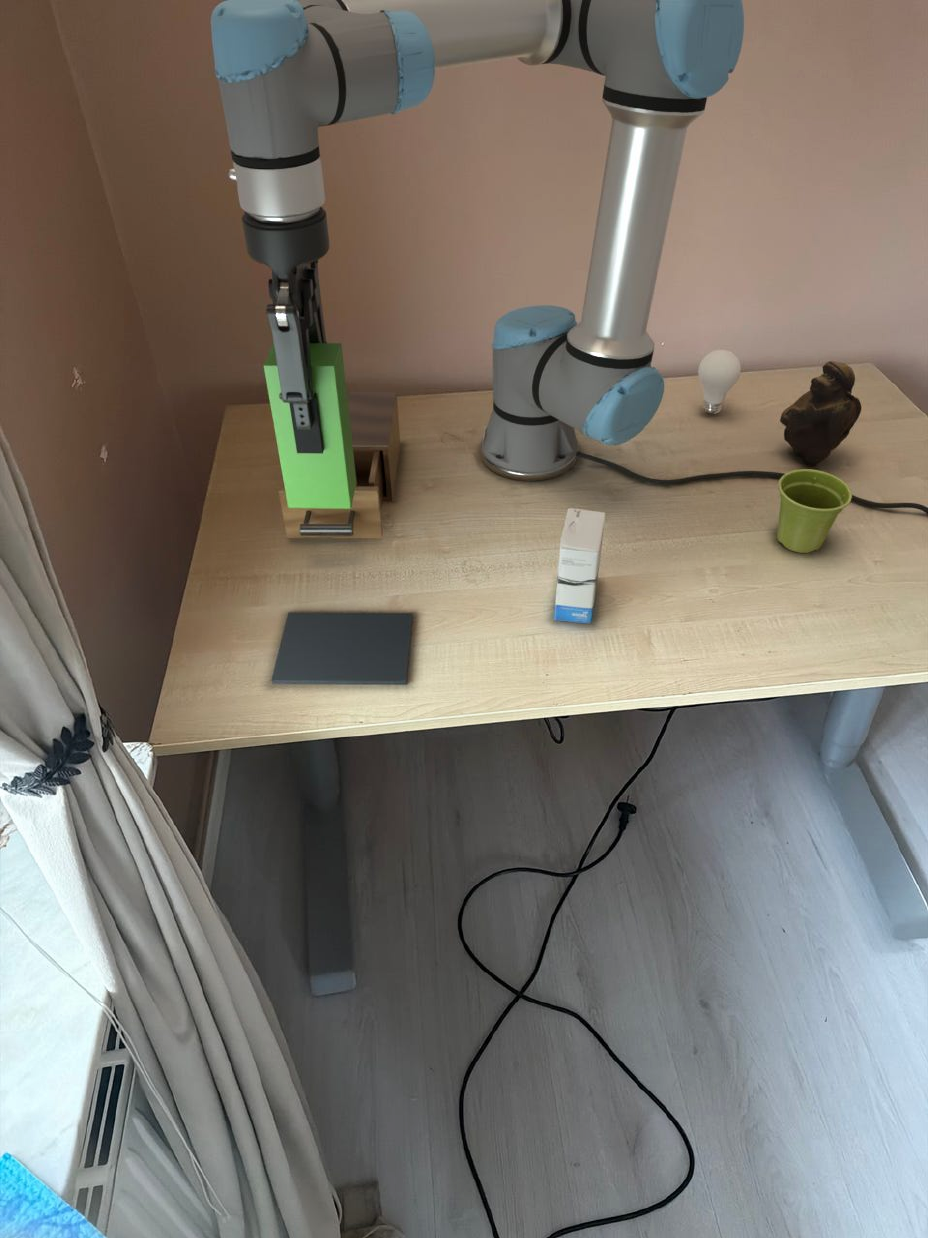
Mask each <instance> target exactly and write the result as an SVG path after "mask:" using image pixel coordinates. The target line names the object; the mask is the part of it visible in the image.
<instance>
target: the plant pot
mask: <svg viewBox="0 0 928 1238" xmlns="http://www.w3.org/2000/svg"><path fill="white" fill-rule="evenodd" d="M777 486H778V491H779V497H780V505H779V512H778V513H779V514H778V521H777V530H776V539H777V541H778V542H780V543H781V544H782V545H783V546H784V547H785V548H786V549H787V550H789V551H792V552H796V553H801V554H808V553H812V552H813V551H818V550H819V549H820V548H821V547H822V545H823V544H824V542H825V540H826V538H827V536H828V534H829V532H830V531H831V529H832V526H833V525H834V523H835V521H836V519H837V518H838V516H839V514H840V513H841V512H842V511H843V510H844V508H846V507H847V506H848V505H849V504H850V503H851V501H852V500H851V499H852V495H853V493H852V489H851V488H850V487H849V485H848V484H847V483H846V482H845V481H843V480H842V479H841V478H840V477H838V476H836V475H833V474H832V473H828V472H826V471H823V470H818V469H810V468H804V469H803V468H801V469H795V470H790V471H789V472H786V473H784V475H783V476H782V477H781V478H779V480H778V485H777Z"/></svg>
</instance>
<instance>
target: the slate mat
mask: <svg viewBox="0 0 928 1238" xmlns="http://www.w3.org/2000/svg"><path fill="white" fill-rule="evenodd" d="M413 621H414V613H413V612H314V611H313V612H311V611H310V612H306V611H305V612H299V611H298V612H294V611H292V612H289V611H288V612H287V616H286V619H285V624H284V628H283V632H282V636H281V639H280V643H279V648H278V651H277V656H276V660H275V664H274V668H273V672H272V676H271V680H270V681H271V684H273V685H274V684H275V685H276V684H278V685H279V684H280V685H281V684H282V685H402V686H403V685H406V686H407V683H408V674H409V673H408V672H409V662H410V652H411V642H412V641H411V640H412V631H413Z"/></svg>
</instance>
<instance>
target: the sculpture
mask: <svg viewBox="0 0 928 1238" xmlns="http://www.w3.org/2000/svg"><path fill="white" fill-rule="evenodd" d="M855 381H856V376H855V372H854V370H853V368H852V367H851V366H850V365H848V364H846V363H844V362H839V361H835V360H829V361H827V362H825V364H823V365H822V374H821V375H819V376H816V377H813V378H811V380H810V386H809V390H808V391H807V392H805V393H804V394H802V395H801V396H800V397H799V398H798V399H797V400H796V401H795V402H793V403H792V404H790V405H789V406H788V407H787V408H785V409H784V410H783V411H782V413H781V416H780V419H779V422H780V423H781V425H783V426H784V427H785V428H784V431H783V439H784V441H785V442H786V443H787V444H788V445H789V446H790V447H791V448H792V453H793V455H794V456H797V457H802V458H804V459H805V461H806V465H807V466H808V467H814V466H817V465H818V464H819V463H822V461H824V460H826V459H827V458H828V457H829V456H830V455H831V454H832V451H833V450H835V449H837V448H838V447H839V446H840V444H841V443H842V442H844V440H845V439H846V438H847V437H848V436H849V434H850V432H851V430H852V428H853V427H854V425H855V424H856V422H857V421H858V420H859V418H860V414H861V413H862V404H861V401H860V399H859V398H858V397H856V396H855V395H853V394H852V393H853V391H852V390H853V388H854V385H855V383H856V382H855Z"/></svg>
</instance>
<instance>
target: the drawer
mask: <svg viewBox="0 0 928 1238" xmlns="http://www.w3.org/2000/svg"><path fill="white" fill-rule="evenodd" d="M353 455H354V464H355V473H356V482H357V484H356V488H355V493H354V497H353V502H352V506H351V509H335V508H288V503H287V498H286V492H285V486H284V485H283V486H282V485H281V486H279V488H278V497H279V502H280V508H281V512H282V518H283V523H284V529H285V534H286V538H345V539H347V538H350V539H351V538H352V539H353V538H354V539H355V538H359V539H360V538H364V539H365V538H367V539H370V538H371V539H372V538H374V539H375V538H383V534H384V533H383V532H384V530H383V521H382V505H383V502H382V499H383V493H384V486H385V470H384V459H383V451H353Z"/></svg>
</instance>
